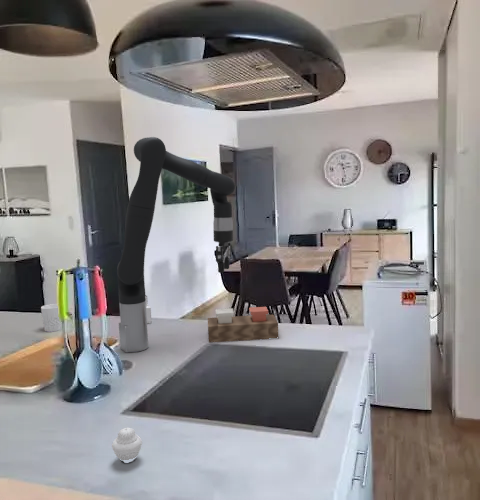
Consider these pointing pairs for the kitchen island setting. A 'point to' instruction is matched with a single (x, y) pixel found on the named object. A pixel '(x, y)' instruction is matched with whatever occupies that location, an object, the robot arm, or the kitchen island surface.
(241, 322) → the button box
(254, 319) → the red square flowerpot
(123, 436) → the muffin
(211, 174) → the robot arm
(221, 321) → the white block
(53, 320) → the white cup
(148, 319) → the medicine bottle
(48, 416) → the kitchen island surface
